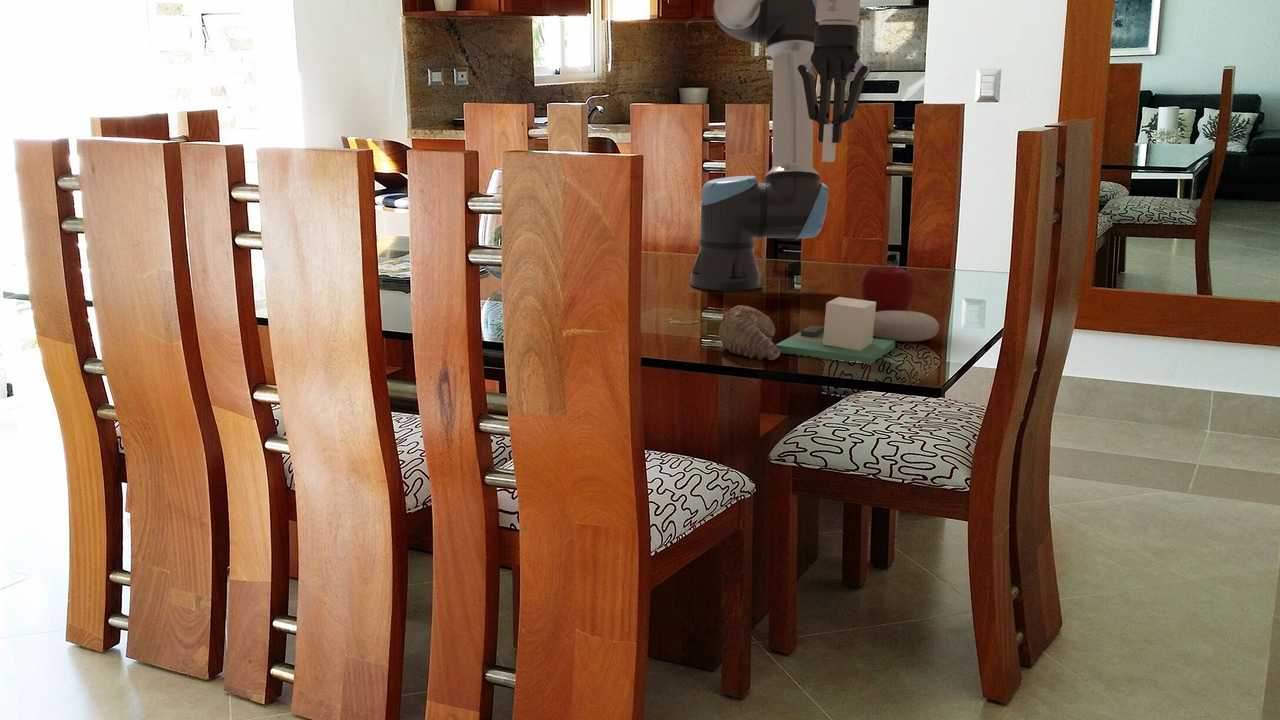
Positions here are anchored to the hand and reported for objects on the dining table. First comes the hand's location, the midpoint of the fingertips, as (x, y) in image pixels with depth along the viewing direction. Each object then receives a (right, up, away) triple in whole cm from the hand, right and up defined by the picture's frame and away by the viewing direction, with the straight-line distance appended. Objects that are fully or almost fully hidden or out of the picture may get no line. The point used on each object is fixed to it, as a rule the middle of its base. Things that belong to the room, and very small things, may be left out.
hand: (828, 161), depth 198 cm
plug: (+1, -33, -16) cm, 37 cm away
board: (-1, -34, -15) cm, 37 cm away
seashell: (-15, -34, -16) cm, 41 cm away
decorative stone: (+12, -32, -6) cm, 35 cm away
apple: (+13, -28, +12) cm, 33 cm away
